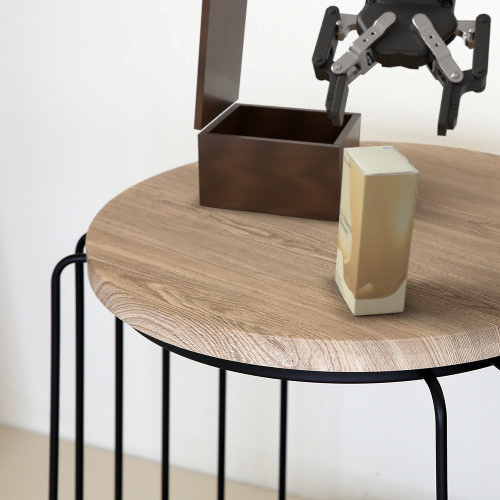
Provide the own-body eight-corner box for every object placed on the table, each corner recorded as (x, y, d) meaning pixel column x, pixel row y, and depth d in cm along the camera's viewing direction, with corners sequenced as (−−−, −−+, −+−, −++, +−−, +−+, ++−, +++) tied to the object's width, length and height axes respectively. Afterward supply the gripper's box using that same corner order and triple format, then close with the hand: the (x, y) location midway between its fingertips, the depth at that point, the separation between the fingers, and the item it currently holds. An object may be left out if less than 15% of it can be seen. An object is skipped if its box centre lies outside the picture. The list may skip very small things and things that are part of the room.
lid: (251, -43, 84) (206, -49, 85) (212, -29, 73) (161, -37, 75) (238, 99, 91) (197, 92, 92) (200, 130, 80) (155, 121, 82)
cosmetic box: (333, 281, 69) (340, 145, 63) (382, 277, 69) (393, 142, 64) (353, 319, 63) (363, 173, 58) (406, 314, 64) (421, 169, 58)
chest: (357, 179, 91) (361, 113, 88) (335, 221, 80) (339, 147, 77) (235, 166, 95) (235, 102, 92) (199, 205, 84) (197, 134, 81)
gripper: (332, -71, 68) (295, 95, 63) (506, -67, 64) (482, 110, 59) (340, -14, 75) (308, 140, 70) (498, -7, 71) (476, 156, 66)
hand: (388, 126), depth 64 cm, fingers open, 8 cm apart
